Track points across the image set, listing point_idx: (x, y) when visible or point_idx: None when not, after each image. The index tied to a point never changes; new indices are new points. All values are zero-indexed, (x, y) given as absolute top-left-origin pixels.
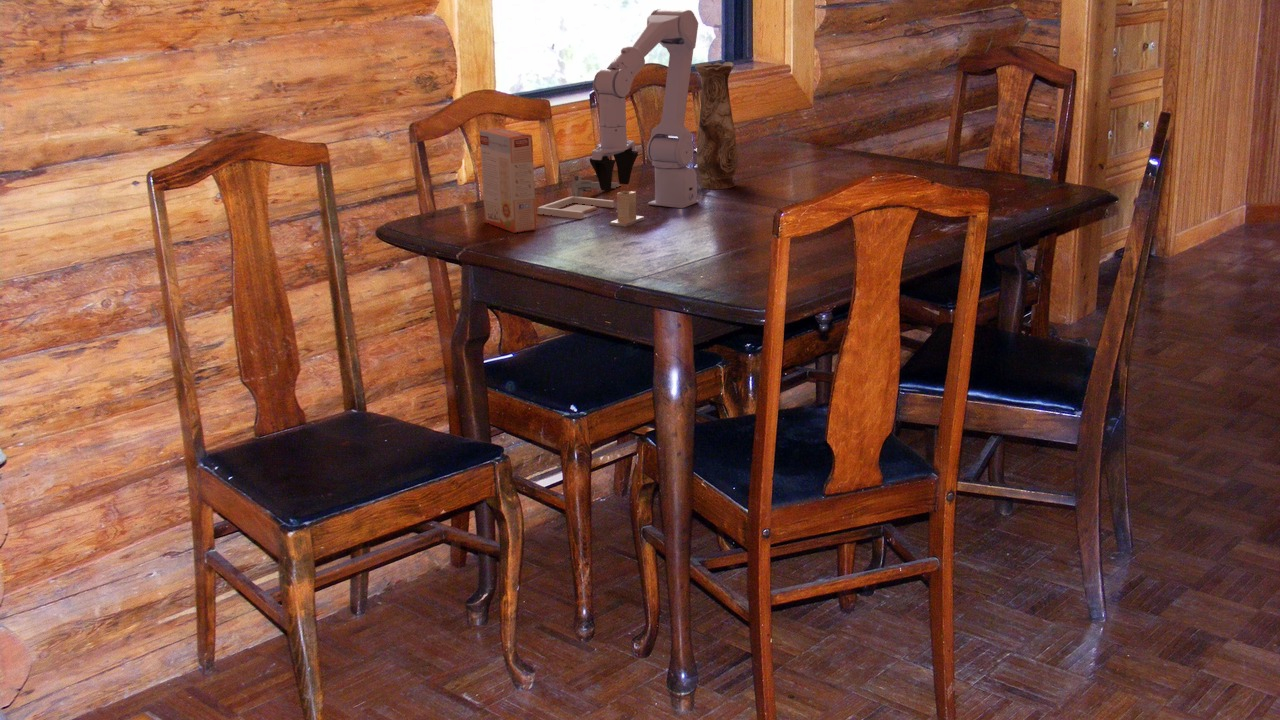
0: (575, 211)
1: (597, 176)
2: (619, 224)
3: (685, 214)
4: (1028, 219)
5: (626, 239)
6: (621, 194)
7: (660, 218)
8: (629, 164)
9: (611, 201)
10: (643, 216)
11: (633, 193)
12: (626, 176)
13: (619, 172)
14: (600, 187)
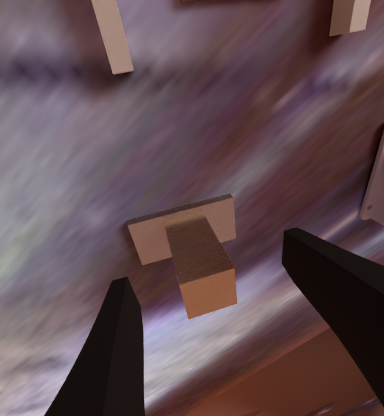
0: (107, 28)
1: (75, 364)
2: (137, 249)
3: None
4: (369, 406)
5: (56, 339)
6: (183, 295)
7: (259, 248)
8: (361, 366)
9: (349, 29)
10: (235, 236)
11: (221, 305)
12: (306, 289)
13: (330, 269)
14: (108, 290)
